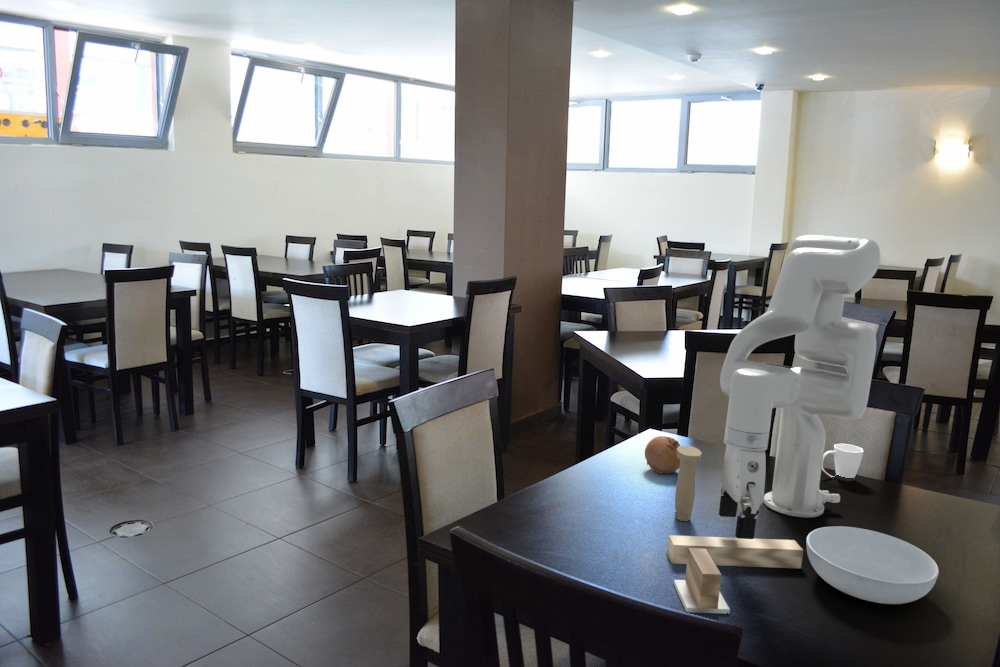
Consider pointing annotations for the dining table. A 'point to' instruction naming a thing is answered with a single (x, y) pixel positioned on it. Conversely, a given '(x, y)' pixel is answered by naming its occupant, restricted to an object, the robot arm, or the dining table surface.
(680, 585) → the wooden block on base
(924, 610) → the dining table surface
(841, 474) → the cup
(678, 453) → the handle
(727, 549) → the beam
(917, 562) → the serving bowl
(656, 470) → the onion
